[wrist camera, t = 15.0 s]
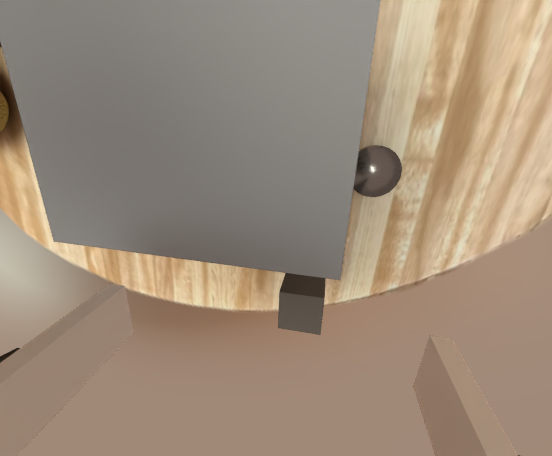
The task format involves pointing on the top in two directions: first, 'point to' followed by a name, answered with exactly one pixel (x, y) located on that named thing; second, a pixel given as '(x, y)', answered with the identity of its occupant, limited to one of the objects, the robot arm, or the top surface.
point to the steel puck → (376, 171)
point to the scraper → (301, 303)
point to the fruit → (3, 111)
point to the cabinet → (195, 124)
